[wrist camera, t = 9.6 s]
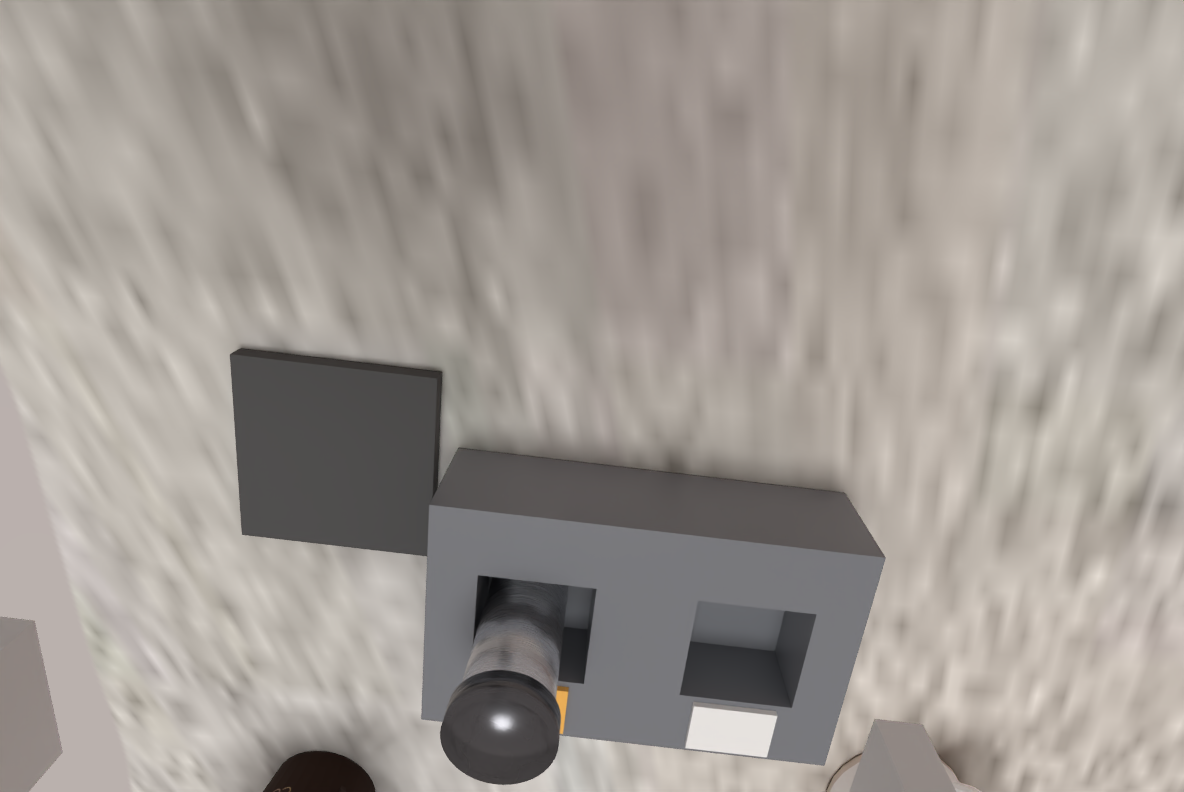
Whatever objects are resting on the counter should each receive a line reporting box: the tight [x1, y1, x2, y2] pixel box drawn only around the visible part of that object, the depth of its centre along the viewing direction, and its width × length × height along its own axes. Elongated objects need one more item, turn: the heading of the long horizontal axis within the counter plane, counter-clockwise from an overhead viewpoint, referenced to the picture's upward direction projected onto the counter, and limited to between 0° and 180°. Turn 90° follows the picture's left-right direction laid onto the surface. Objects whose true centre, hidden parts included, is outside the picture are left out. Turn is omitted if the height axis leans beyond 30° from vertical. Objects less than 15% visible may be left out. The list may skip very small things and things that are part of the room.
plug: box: [440, 577, 568, 785], centre depth 32 cm, size 5×5×10 cm
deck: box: [230, 349, 442, 556], centre depth 37 cm, size 10×10×1 cm
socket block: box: [421, 448, 885, 766], centre depth 36 cm, size 12×20×6 cm, turn 84°
